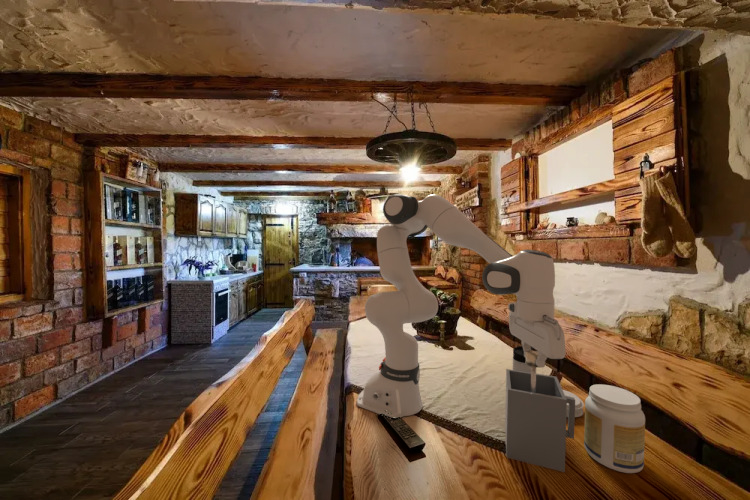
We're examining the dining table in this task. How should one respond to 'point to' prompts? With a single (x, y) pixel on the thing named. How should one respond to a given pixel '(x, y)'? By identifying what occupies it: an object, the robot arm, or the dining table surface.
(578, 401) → the lid
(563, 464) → the box
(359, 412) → the dining table surface
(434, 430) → the dining table surface
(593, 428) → the supplement tub
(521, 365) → the travel mug
